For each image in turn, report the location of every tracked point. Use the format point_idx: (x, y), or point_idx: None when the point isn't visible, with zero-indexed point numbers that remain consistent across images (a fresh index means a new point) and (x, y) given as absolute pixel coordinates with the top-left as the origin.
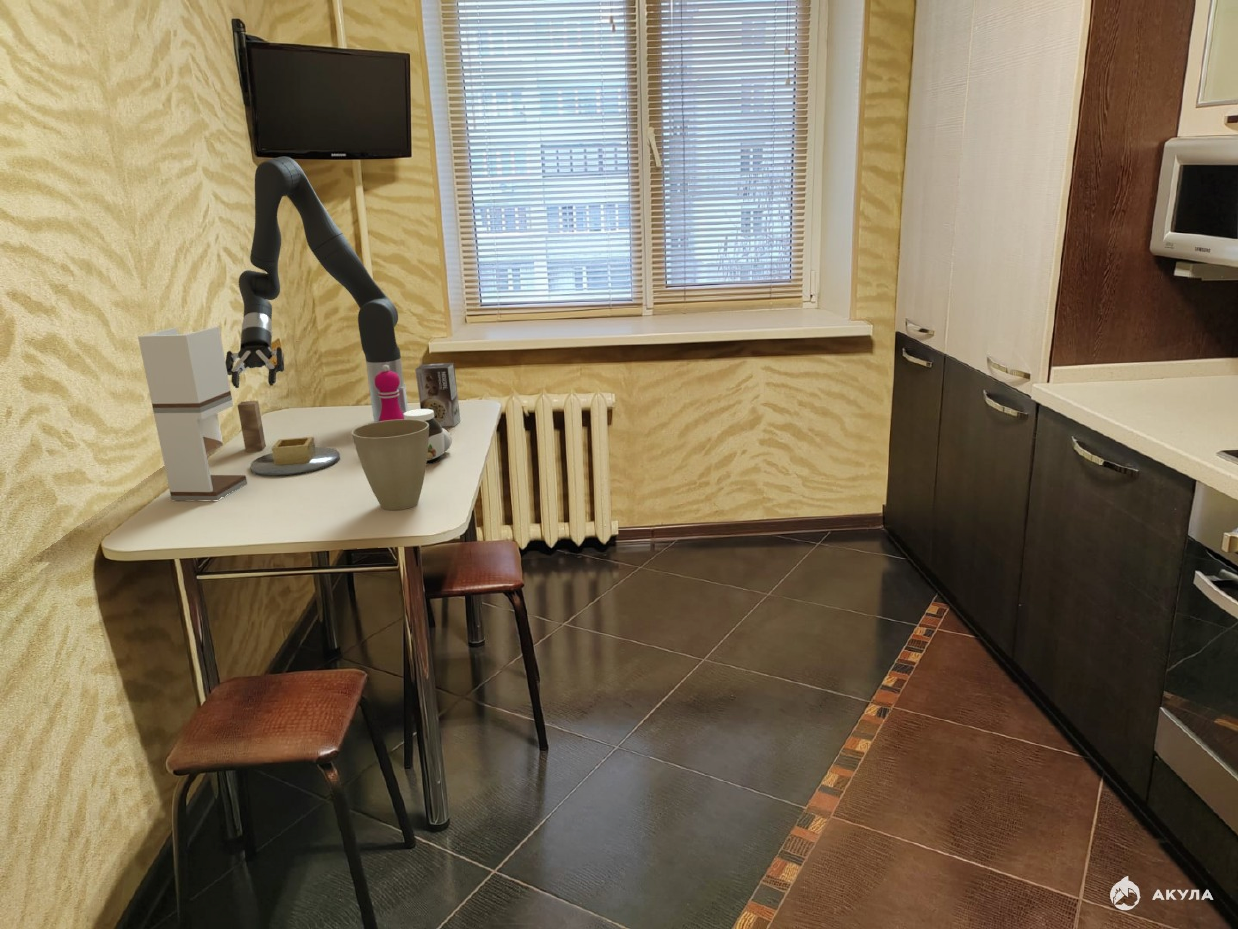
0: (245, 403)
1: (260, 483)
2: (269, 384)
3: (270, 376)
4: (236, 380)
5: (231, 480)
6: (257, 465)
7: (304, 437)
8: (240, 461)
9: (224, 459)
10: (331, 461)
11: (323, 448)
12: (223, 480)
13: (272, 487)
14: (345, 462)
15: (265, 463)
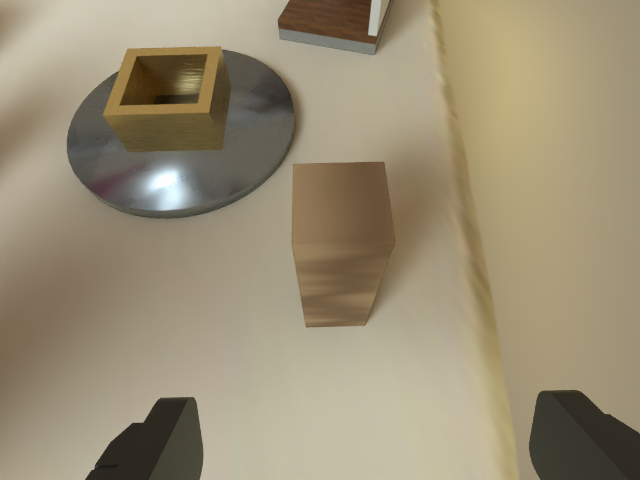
0: (351, 189)
1: (253, 37)
2: (200, 431)
3: (138, 444)
4: (571, 414)
5: (298, 2)
6: (273, 91)
7: (130, 113)
8: None
9: (402, 208)
10: (99, 87)
11: (102, 183)
12: (315, 4)
13: (227, 17)
14: (71, 111)
15: (256, 100)
